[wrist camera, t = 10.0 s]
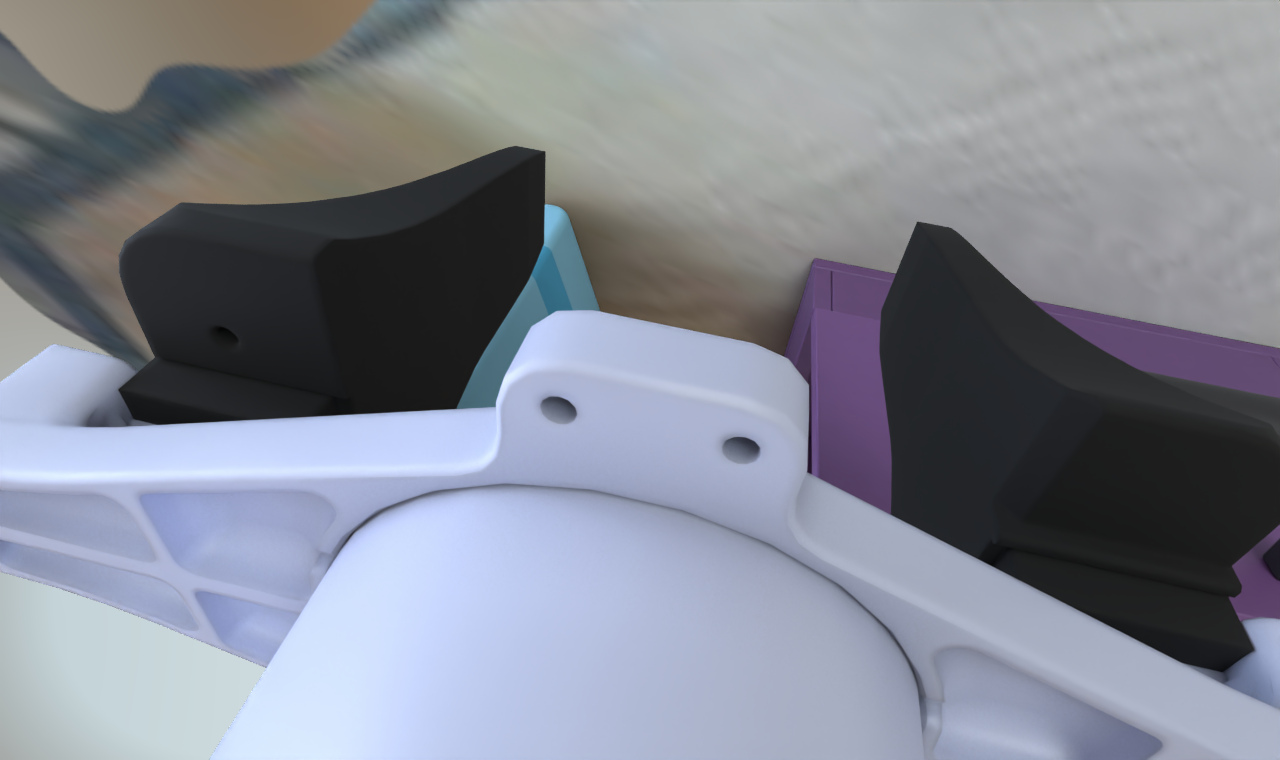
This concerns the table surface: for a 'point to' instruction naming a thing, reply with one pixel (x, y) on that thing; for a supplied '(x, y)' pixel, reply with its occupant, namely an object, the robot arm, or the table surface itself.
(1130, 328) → the purple box
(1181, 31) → the table surface
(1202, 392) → the cover
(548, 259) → the data package
